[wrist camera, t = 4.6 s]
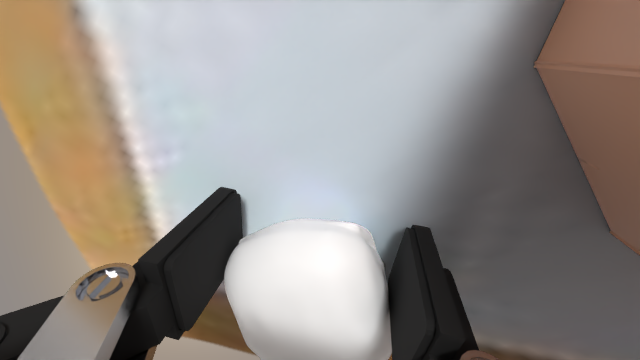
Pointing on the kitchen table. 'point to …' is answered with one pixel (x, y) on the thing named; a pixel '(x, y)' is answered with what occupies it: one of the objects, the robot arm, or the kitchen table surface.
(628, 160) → the bowl
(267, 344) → the garlic
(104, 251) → the kitchen table surface
